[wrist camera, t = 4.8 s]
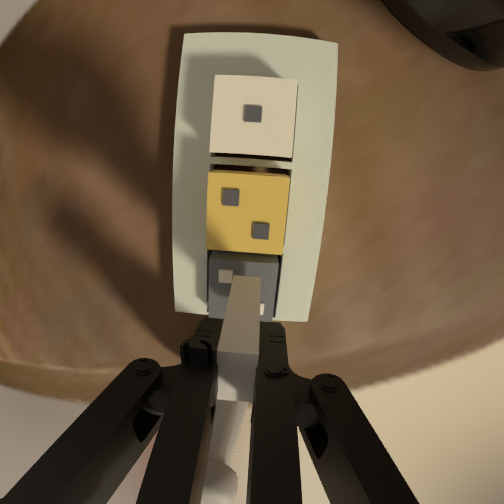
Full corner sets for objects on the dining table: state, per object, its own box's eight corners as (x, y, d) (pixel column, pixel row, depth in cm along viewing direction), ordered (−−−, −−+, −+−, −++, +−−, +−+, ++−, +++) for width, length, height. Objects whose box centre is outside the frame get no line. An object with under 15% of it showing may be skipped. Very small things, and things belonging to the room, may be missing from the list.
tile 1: (220, 83, 14) (214, 74, 12) (293, 88, 14) (298, 79, 12) (215, 151, 15) (208, 152, 13) (287, 157, 15) (292, 157, 13)
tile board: (190, 41, 15) (184, 33, 13) (332, 50, 15) (338, 43, 13) (180, 300, 21) (175, 311, 19) (304, 310, 21) (307, 321, 19)
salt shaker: (178, 367, 23) (136, 501, 11) (191, 315, 21) (136, 469, 9) (244, 386, 23) (234, 523, 11) (266, 337, 22) (267, 497, 9)
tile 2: (214, 169, 16) (207, 172, 14) (286, 174, 16) (290, 178, 14) (211, 237, 17) (205, 249, 15) (279, 243, 17) (282, 255, 15)
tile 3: (214, 247, 19) (208, 259, 17) (277, 252, 19) (279, 264, 17) (213, 302, 20) (208, 318, 18) (270, 306, 20) (271, 323, 18)
